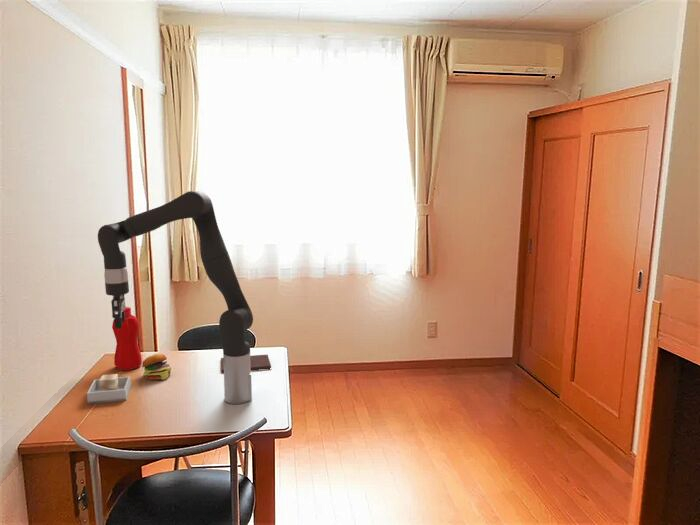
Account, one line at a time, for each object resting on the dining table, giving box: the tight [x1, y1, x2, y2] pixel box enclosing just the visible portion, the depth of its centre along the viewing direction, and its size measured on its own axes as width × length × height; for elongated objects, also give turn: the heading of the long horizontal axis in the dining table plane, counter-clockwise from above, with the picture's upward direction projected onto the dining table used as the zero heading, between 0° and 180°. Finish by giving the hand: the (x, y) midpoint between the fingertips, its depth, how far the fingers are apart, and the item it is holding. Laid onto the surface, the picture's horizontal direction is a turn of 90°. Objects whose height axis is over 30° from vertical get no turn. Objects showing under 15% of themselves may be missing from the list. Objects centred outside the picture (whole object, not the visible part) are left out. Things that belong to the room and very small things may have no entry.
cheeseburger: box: [141, 353, 172, 381], centre depth 200 cm, size 10×11×10 cm
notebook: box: [220, 354, 272, 374], centre depth 214 cm, size 15×20×2 cm
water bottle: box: [111, 306, 143, 371], centre depth 208 cm, size 9×11×25 cm
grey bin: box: [86, 376, 132, 405], centre depth 183 cm, size 12×12×4 cm
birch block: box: [99, 373, 119, 391], centre depth 183 cm, size 5×5×6 cm
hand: (120, 324), depth 183 cm, fingers open, 8 cm apart
